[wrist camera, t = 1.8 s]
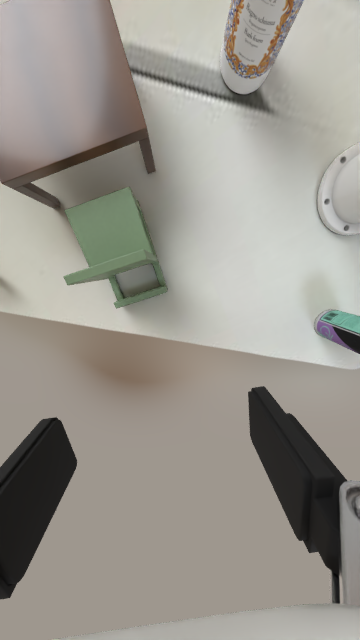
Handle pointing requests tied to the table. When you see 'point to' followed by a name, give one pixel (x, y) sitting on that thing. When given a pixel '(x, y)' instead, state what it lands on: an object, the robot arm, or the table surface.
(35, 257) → the table surface
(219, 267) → the table surface
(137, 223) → the chair
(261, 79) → the bath foam
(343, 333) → the spray can
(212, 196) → the table surface
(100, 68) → the side table
